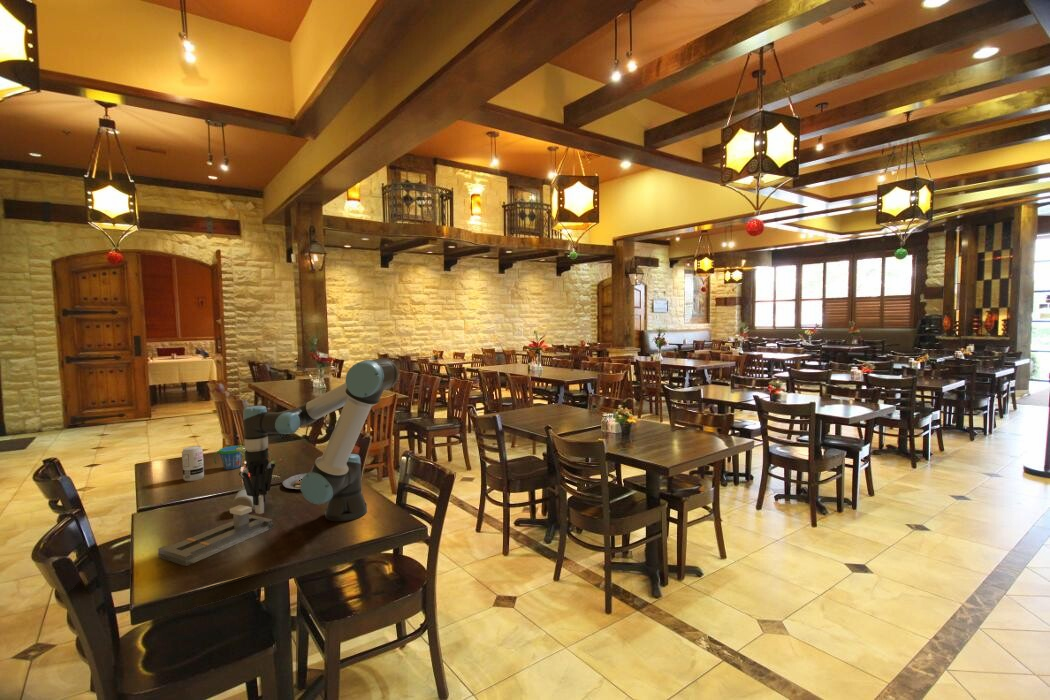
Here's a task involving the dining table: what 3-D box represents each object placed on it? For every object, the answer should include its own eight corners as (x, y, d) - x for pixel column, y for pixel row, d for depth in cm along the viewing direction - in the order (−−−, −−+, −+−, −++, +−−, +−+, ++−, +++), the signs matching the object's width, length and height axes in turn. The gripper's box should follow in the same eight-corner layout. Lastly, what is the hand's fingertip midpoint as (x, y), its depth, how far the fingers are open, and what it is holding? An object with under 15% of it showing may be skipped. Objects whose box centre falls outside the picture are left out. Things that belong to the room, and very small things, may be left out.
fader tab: (241, 523, 177) (240, 504, 176) (252, 526, 174) (251, 507, 174) (230, 528, 173) (229, 508, 173) (242, 531, 170) (241, 511, 170)
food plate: (334, 471, 243) (333, 464, 243) (348, 483, 225) (348, 476, 224) (278, 483, 228) (277, 475, 228) (289, 497, 210) (288, 489, 209)
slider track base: (247, 521, 183) (246, 513, 183) (273, 527, 177) (272, 519, 177) (158, 557, 156) (158, 548, 156) (186, 566, 150) (185, 556, 150)
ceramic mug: (231, 516, 188) (230, 496, 188) (235, 508, 196) (235, 489, 196) (262, 512, 192) (261, 493, 192) (265, 505, 200) (265, 486, 199)
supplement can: (186, 477, 237) (185, 446, 236) (206, 475, 240) (204, 445, 239) (180, 482, 229) (178, 450, 228) (201, 480, 232) (199, 449, 231)
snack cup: (212, 472, 244) (211, 452, 243) (216, 466, 254) (215, 447, 253) (248, 468, 250) (247, 448, 249) (251, 463, 260) (250, 444, 259)
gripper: (265, 443, 186) (268, 504, 187) (232, 452, 174) (235, 517, 176) (279, 445, 183) (282, 507, 184) (246, 454, 171) (249, 520, 172)
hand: (259, 512), depth 180 cm, fingers closed
